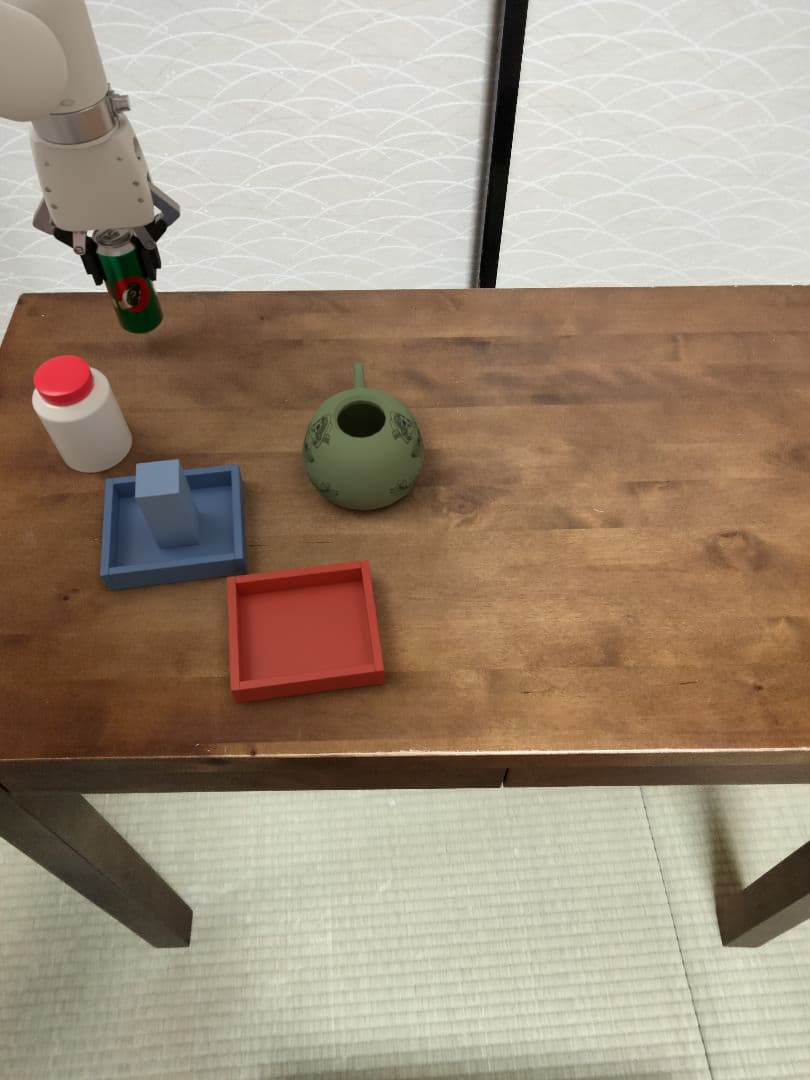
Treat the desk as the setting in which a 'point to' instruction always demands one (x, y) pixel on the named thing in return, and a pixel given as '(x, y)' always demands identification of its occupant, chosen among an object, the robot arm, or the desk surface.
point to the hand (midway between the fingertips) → (126, 273)
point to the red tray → (303, 631)
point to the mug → (363, 447)
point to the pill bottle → (80, 414)
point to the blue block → (167, 503)
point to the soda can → (127, 279)
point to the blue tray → (143, 563)
